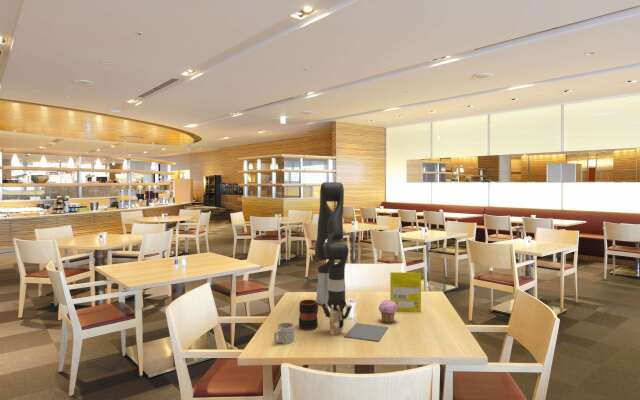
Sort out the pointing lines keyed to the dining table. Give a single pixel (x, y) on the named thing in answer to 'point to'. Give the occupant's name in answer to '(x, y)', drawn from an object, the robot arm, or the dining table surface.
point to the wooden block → (334, 323)
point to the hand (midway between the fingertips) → (336, 327)
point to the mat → (366, 332)
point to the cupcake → (388, 310)
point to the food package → (406, 291)
